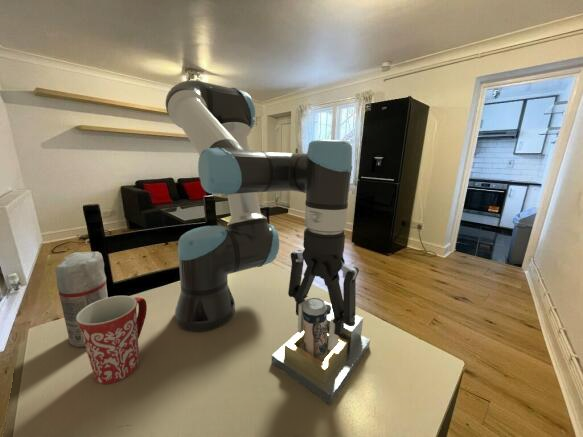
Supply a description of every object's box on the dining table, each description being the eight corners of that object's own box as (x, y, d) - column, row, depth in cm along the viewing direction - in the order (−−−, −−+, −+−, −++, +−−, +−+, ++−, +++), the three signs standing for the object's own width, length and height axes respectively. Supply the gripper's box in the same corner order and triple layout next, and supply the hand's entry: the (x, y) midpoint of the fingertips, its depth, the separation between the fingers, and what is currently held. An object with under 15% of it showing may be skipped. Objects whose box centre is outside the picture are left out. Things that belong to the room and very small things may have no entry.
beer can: (320, 367, 48) (320, 313, 45) (299, 357, 50) (297, 306, 47) (330, 351, 52) (330, 300, 49) (310, 342, 54) (309, 294, 51)
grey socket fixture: (271, 363, 51) (272, 330, 49) (317, 321, 65) (319, 295, 63) (330, 405, 43) (334, 367, 41) (369, 347, 57) (373, 317, 55)
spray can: (118, 336, 57) (106, 255, 53) (71, 355, 51) (53, 266, 47) (109, 319, 63) (98, 245, 58) (66, 335, 57) (50, 254, 52)
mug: (115, 394, 43) (105, 328, 40) (75, 383, 45) (62, 318, 42) (166, 344, 55) (161, 290, 52) (132, 336, 57) (126, 284, 54)
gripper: (271, 222, 48) (269, 326, 53) (369, 246, 36) (354, 375, 41) (294, 217, 53) (291, 310, 59) (385, 235, 42) (370, 350, 47)
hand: (317, 337), depth 50 cm, fingers open, 7 cm apart
